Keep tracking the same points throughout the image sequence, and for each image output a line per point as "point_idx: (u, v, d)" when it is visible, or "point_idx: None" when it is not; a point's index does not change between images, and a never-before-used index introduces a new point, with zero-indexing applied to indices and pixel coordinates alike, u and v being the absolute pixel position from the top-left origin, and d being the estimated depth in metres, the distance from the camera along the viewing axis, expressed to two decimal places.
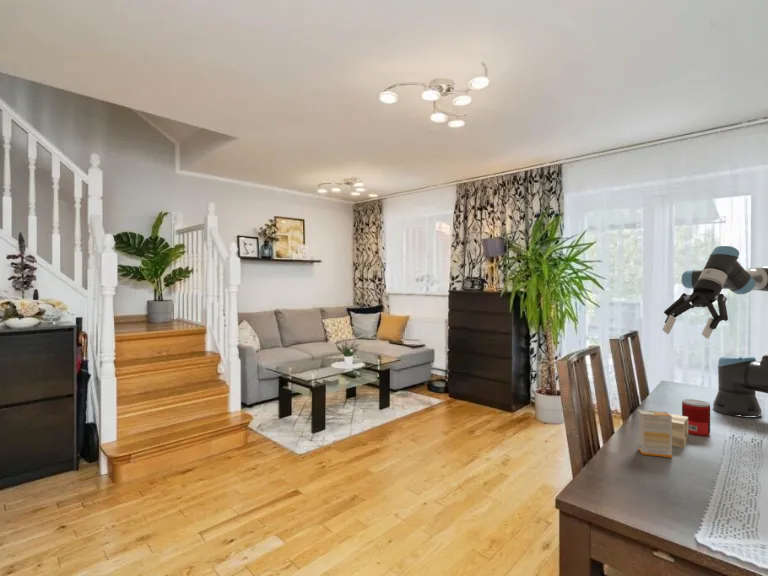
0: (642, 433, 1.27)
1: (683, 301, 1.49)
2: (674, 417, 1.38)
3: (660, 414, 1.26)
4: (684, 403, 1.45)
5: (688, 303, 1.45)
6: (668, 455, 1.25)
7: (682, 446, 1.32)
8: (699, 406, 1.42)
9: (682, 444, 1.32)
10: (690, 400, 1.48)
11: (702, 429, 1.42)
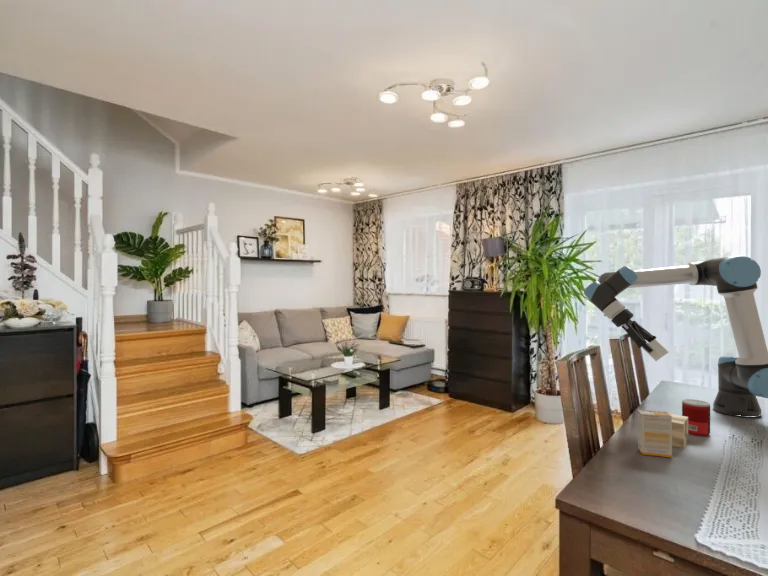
0: (642, 433, 1.27)
1: None
2: (674, 417, 1.38)
3: (660, 414, 1.26)
4: (684, 403, 1.45)
5: None
6: (668, 455, 1.25)
7: (682, 446, 1.32)
8: (699, 406, 1.42)
9: (682, 444, 1.32)
10: (690, 400, 1.48)
11: (702, 429, 1.42)
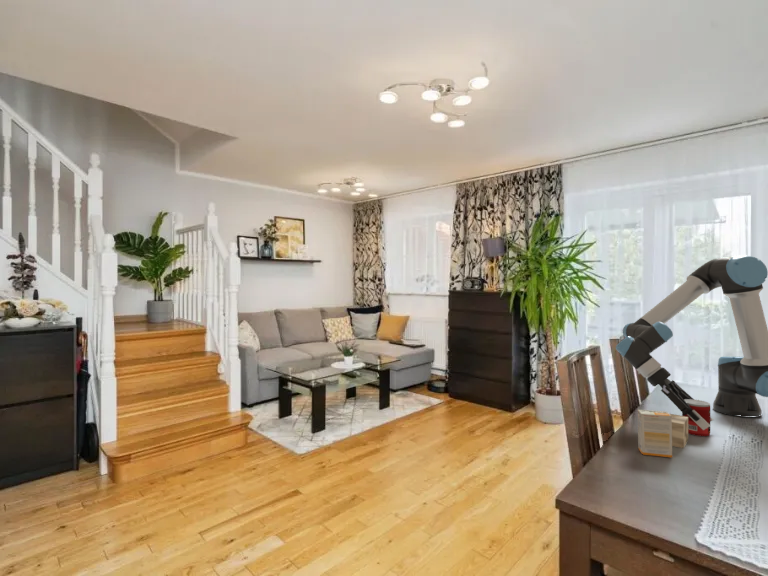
0: (642, 433, 1.27)
1: None
2: (674, 417, 1.38)
3: (660, 414, 1.26)
4: None
5: None
6: (668, 455, 1.25)
7: (682, 446, 1.32)
8: (699, 406, 1.42)
9: (682, 444, 1.32)
10: (690, 400, 1.48)
11: None
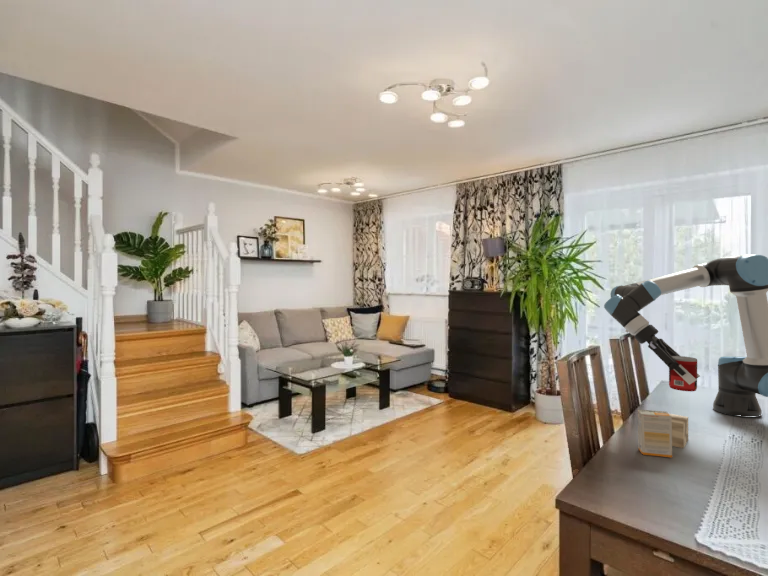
0: (642, 433, 1.27)
1: None
2: (674, 417, 1.38)
3: (660, 414, 1.26)
4: None
5: None
6: (668, 455, 1.25)
7: (682, 446, 1.32)
8: (686, 361, 1.40)
9: (682, 444, 1.32)
10: (677, 357, 1.46)
11: (688, 384, 1.40)
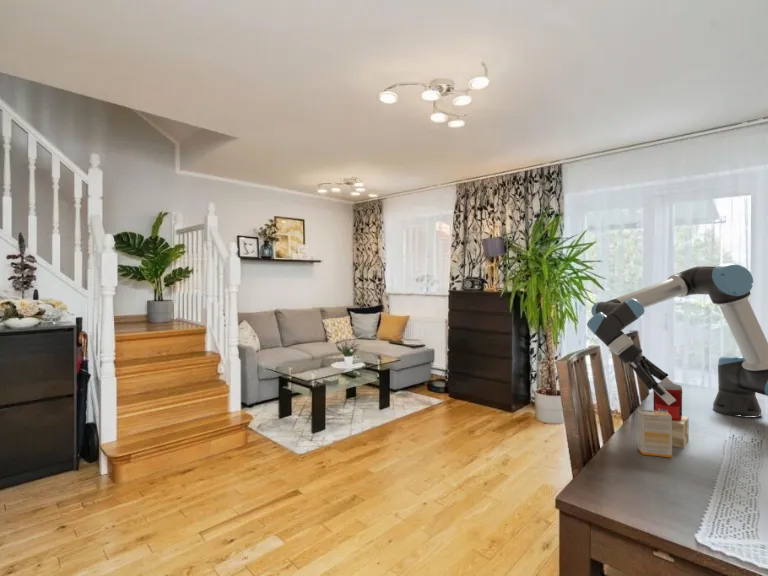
0: (642, 433, 1.27)
1: None
2: None
3: (660, 414, 1.26)
4: None
5: None
6: (668, 455, 1.25)
7: (682, 446, 1.32)
8: (670, 389, 1.35)
9: (682, 444, 1.32)
10: (662, 383, 1.41)
11: (672, 413, 1.35)
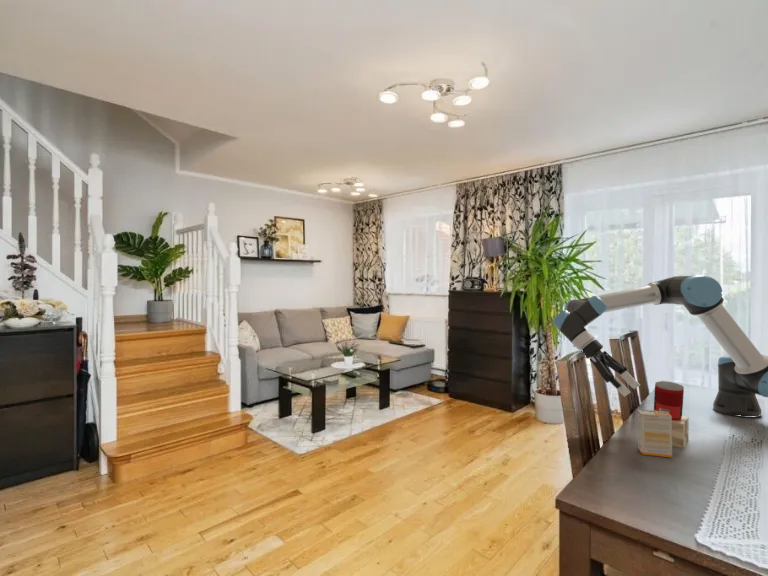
0: (642, 433, 1.27)
1: (607, 358, 1.57)
2: None
3: (660, 414, 1.26)
4: (657, 386, 1.38)
5: None
6: (668, 455, 1.25)
7: (682, 446, 1.32)
8: (672, 389, 1.34)
9: (682, 444, 1.32)
10: (663, 382, 1.40)
11: (674, 413, 1.35)
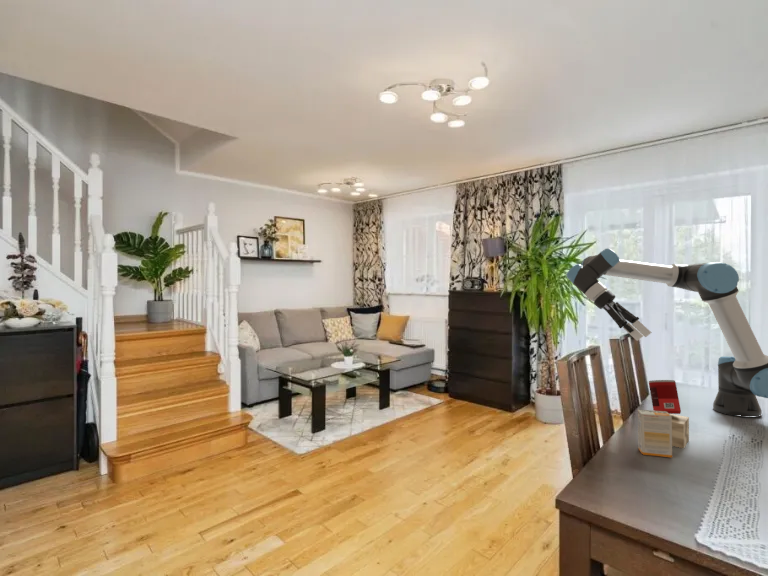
0: (642, 433, 1.27)
1: None
2: (674, 417, 1.38)
3: (660, 414, 1.26)
4: (655, 381, 1.40)
5: None
6: (668, 455, 1.25)
7: (682, 446, 1.32)
8: (671, 381, 1.38)
9: (682, 444, 1.32)
10: None
11: (677, 406, 1.36)
